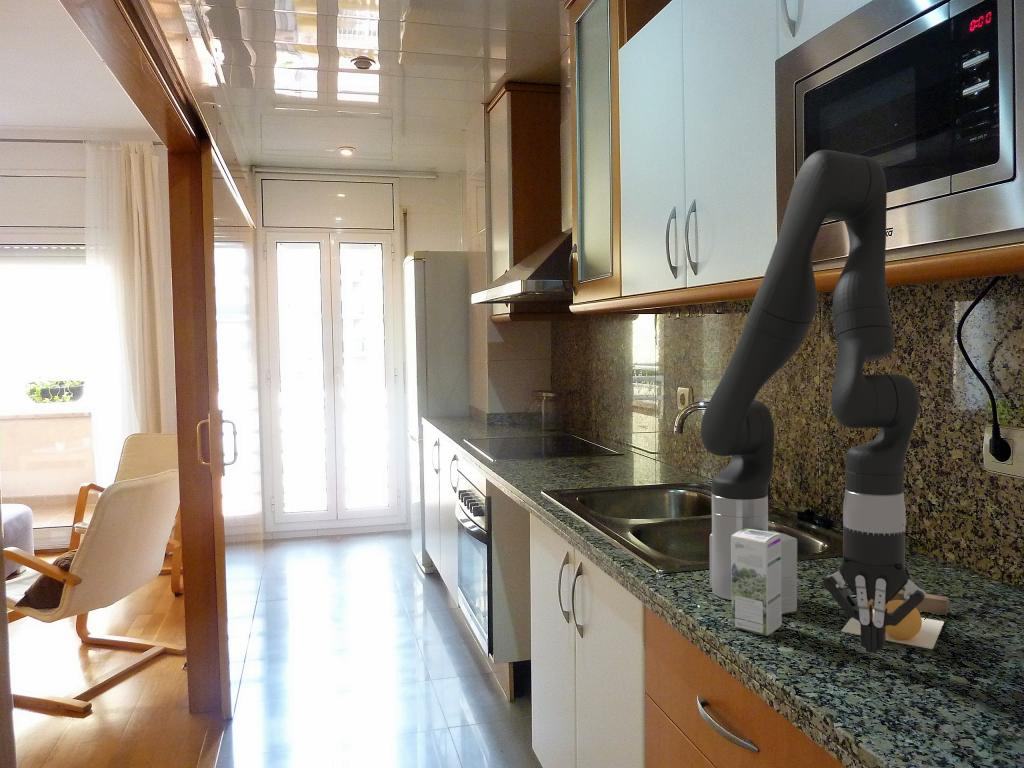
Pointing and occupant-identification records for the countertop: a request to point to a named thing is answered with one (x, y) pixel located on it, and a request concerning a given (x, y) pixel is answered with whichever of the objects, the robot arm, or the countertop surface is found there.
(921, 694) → the countertop surface
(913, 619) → the ball
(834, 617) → the countertop surface
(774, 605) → the syrup box
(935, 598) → the stop rail
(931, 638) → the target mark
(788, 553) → the skincare box
